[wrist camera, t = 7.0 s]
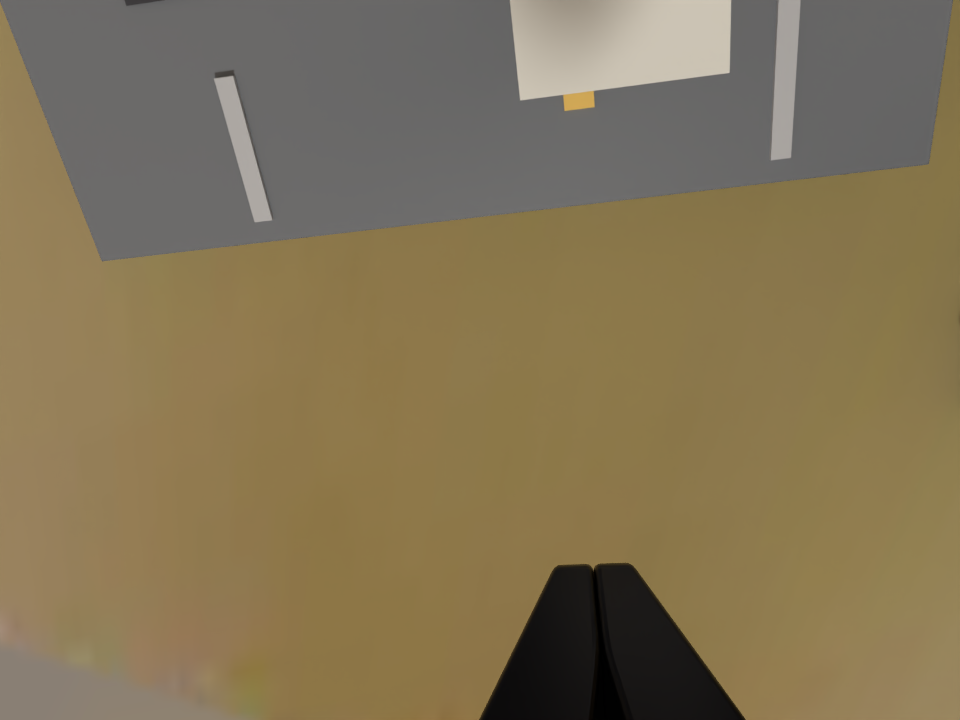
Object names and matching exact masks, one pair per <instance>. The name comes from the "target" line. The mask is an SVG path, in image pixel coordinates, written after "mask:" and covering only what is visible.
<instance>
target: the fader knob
mask: <svg viewBox="0 0 960 720" xmlns="http://www.w3.org/2000/svg"><path fill="white" fill-rule="evenodd" d="M510 7H511V17H512V27H513V36H514V46H515V56H516V65H517V75H518V85H519V94H520V100H528V99H535V98H543V97H550V96H558V95H566V94H573V93H581V92H588V91H596V90H604V89H611V88H619V87H626V86H634V85H642V84H649V83H657V82H664V81H672V80H679V79H687V78H695V77H702V76H710V75H717V74H725V73H730V32H731V0H510Z"/></svg>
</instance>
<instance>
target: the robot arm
mask: <svg viewBox="0 0 960 720" xmlns="http://www.w3.org/2000/svg"><path fill="white" fill-rule="evenodd" d="M479 720H746V719H745V718H744V717H743V715H742V714H741V712H740V711H739V710H738V708H737V707H736V706H735V704H734V703H733V701H732V700H731V699H730V697H729V696H728V695H727V693H726V692H725V691H724V689H723V688H722V686H721V685H720V684H719V682H718V681H717V680H716V678H715V677H714V675H713V674H712V673H711V671H710V670H709V669H708V667H707V666H706V664H705V663H704V662H703V660H702V659H701V658H700V656H699V655H698V654H697V652H696V651H695V649H694V648H693V647H692V645H691V644H690V643H689V641H688V640H687V638H686V637H685V636H684V634H683V633H682V632H681V630H680V629H679V627H678V626H677V625H676V623H675V622H674V621H673V619H672V618H671V617H670V615H669V614H668V612H667V611H666V610H665V608H664V607H663V606H662V604H661V603H660V601H659V600H658V599H657V597H656V596H655V595H654V593H653V592H652V590H651V589H650V588H649V586H648V585H647V584H646V582H645V581H644V580H643V578H642V577H641V575H640V574H639V573H638V571H637V570H636V569H635V568H634V566H632V565H631V564H629V563H607V564H598V565H596V566H595V568H594V572H593V569H592V567H591V566H590V565H588V564H576V565H558V566H557V567H555V568H554V569H553V571H552V573H551V575H550V577H549V579H548V581H547V583H546V585H545V587H544V589H543V591H542V593H541V595H540V597H539V599H538V601H537V603H536V605H535V607H534V609H533V611H532V613H531V615H530V617H529V619H528V621H527V623H526V626H525V628H524V630H523V632H522V634H521V636H520V638H519V640H518V642H517V644H516V646H515V648H514V650H513V652H512V654H511V656H510V658H509V660H508V662H507V664H506V666H505V668H504V670H503V672H502V674H501V676H500V678H499V680H498V683H497V685H496V687H495V689H494V691H493V693H492V695H491V697H490V699H489V701H488V703H487V705H486V707H485V709H484V711H483V713H482V715H481V717H480V719H479Z"/></svg>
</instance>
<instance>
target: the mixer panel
mask: <svg viewBox="0 0 960 720" xmlns="http://www.w3.org/2000/svg"><path fill="white" fill-rule="evenodd" d="M0 3H1V5H2V8H3V10H4V13H5V15H6V18H7V20H8V23H9V25H10V28H11V31H12V33H13V36H14V38H15V41H16V43H17V46H18V48H19V51H20V54H21V56H22V59H23V61H24V64H25V66H26V69H27V71H28V74H29V76H30V79H31V82H32V84H33V87H34V89H35V92H36V94H37V97H38V99H39V102H40V105H41V107H42V110H43V112H44V115H45V117H46V120H47V122H48V125H49V127H50V130H51V133H52V135H53V138H54V140H55V143H56V145H57V148H58V150H59V153H60V156H61V158H62V161H63V163H64V166H65V168H66V171H67V173H68V176H69V178H70V181H71V184H72V186H73V189H74V191H75V194H76V196H77V199H78V201H79V204H80V207H81V209H82V212H83V214H84V217H85V219H86V222H87V224H88V227H89V229H90V232H91V235H92V237H93V240H94V242H95V245H96V247H97V250H98V252H99V255H100V258H101V260H102V261H108V260H117V259H125V258H134V257H142V256H151V255H159V254H168V253H176V252H185V251H193V250H202V249H210V248H219V247H227V246H236V245H244V244H253V243H262V242H270V241H279V240H287V239H296V238H304V237H313V236H321V235H330V234H338V233H347V232H355V231H364V230H372V229H381V228H389V227H398V226H406V225H415V224H423V223H432V222H441V221H449V220H458V219H466V218H475V217H483V216H492V215H500V214H509V213H517V212H526V211H534V210H543V209H551V208H560V207H568V206H577V205H585V204H594V203H603V202H611V201H620V200H628V199H637V198H645V197H654V196H662V195H671V194H679V193H688V192H696V191H705V190H713V189H722V188H730V187H739V186H747V185H756V184H764V183H773V182H782V181H790V180H799V179H807V178H816V177H824V176H833V175H841V174H850V173H858V172H867V171H875V170H884V169H892V168H901V167H909V166H918V165H926V164H929V159H930V152H931V145H932V138H933V132H934V125H935V118H936V111H937V105H938V98H939V91H940V84H941V77H942V71H943V64H944V57H945V50H946V43H947V37H948V30H949V23H950V16H951V10H952V3H953V0H731V32H730V73H725V74H717V75H710V76H702V77H695V78H687V79H679V80H672V81H664V82H657V83H649V84H642V85H634V86H626V87H619V88H611V89H604V90H596V91H588V92H581V93H573V94H566V95H558V96H550V97H543V98H535V99H528V100H520V94H519V85H518V75H517V65H516V56H515V46H514V36H513V27H512V17H511V7H510V0H0Z"/></svg>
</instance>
